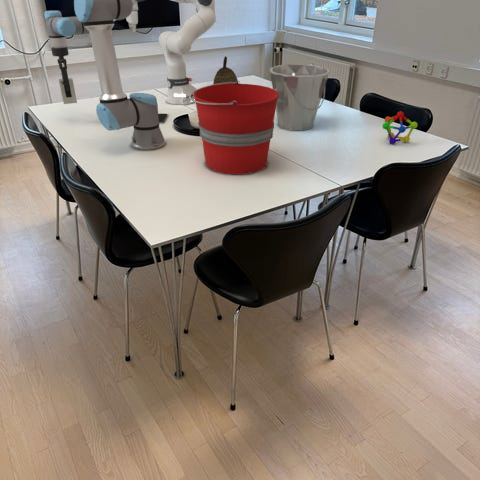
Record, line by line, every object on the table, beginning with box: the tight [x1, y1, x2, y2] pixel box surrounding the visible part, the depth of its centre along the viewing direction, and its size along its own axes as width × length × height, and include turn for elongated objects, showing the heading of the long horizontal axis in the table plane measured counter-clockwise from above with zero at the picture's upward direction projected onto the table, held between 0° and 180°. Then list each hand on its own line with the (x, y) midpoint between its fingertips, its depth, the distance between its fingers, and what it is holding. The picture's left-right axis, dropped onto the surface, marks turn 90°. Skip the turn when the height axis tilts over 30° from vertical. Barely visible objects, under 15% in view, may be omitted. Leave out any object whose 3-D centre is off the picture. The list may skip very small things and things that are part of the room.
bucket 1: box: [190, 81, 279, 175], centre depth 181 cm, size 35×35×30 cm
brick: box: [58, 77, 78, 105], centre depth 224 cm, size 5×6×11 cm
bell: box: [212, 56, 239, 85], centre depth 278 cm, size 19×26×20 cm
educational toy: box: [382, 110, 418, 145], centre depth 207 cm, size 16×13×15 cm
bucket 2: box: [269, 63, 330, 131], centre depth 226 cm, size 30×30×28 cm
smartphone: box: [158, 113, 169, 124], centre depth 241 cm, size 7×1×15 cm
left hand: (68, 95), depth 226 cm, fingers closed on brick, 5 cm apart
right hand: (132, 30), depth 278 cm, fingers open, 8 cm apart
